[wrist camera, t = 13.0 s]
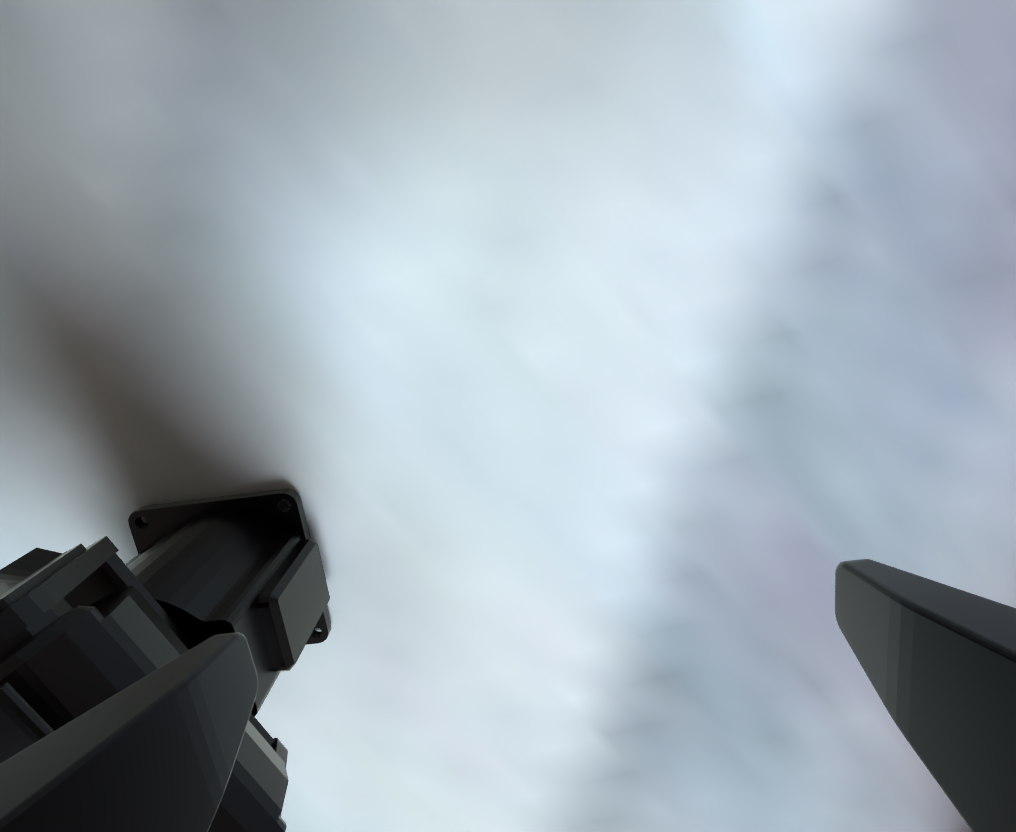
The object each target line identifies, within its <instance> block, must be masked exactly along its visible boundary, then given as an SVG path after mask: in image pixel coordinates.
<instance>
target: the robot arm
mask: <svg viewBox="0 0 1016 832" xmlns="http://www.w3.org/2000/svg"><path fill="white" fill-rule="evenodd" d="M282 499H285V500H287V501H289V502H290V504H291V507H290V508H289V507H285V506H284V505H283V504H282V502H281V500H282ZM141 517H144V518H146V519H147V521H148V524H146V523H144V522H143V521H142V519H141ZM128 521H129V526H130V529H131V532H132V536H133V539H134V542H135V545H136V548H137V551H138V555H137V556H136V557H134V558H133V559H132V560H131V561H129V562H128V563H127V564H126V565H125V564H124V563H123V561H122V560H121V559H120V558H119V557H118V555H117V554H116V552H117V551H118V549H117V548H116V547H115V545H114V544H113V543H112V542H111V541H110V540H109V538H108V537H107V536H105V537H104V538H102V539H100V540H99V541H97V542H95V543H94V544H92V545H90V546H89V547H87V548H85V547H84V546H83V545H82V544H79V545H78V546H76V547H74V548H73V549H71V550H69V551H66V552H65V553H63V554H62V553H58V552H53V551H49V550H44V549H40V548H35V549H34V550H32V551H31V552H29V553H27V554H26V555H24V556H22V557H21V558H19V559H17V560H16V561H14V562H12V563H11V564H9V565H8V566H6V567H4V568H3V569H1V570H0V832H285V830H286V823H285V822H284V820H283V819H282V818H281V811H282V807H283V802H284V798H285V794H286V789H287V785H288V776H287V772H286V763H287V753H288V751H287V749H286V748H285V747H284V745H283V744H282V743H281V742H280V741H279V739H278V738H274V739H273V738H272V737H271V736H270V735H269V734H268V732H267V731H266V730H265V729H264V728H263V726H262V725H261V724H260V723H259V722H258V721H257V719H256V718H255V715H256V714H257V713H258V711H259V709H260V707H261V705H262V704H263V702H264V700H265V698H266V697H267V695H268V693H269V691H270V689H271V688H272V686H273V684H274V682H275V680H276V679H277V677H278V675H279V673H280V671H289V670H290V669H291V668H292V667H293V666H294V664H295V663H296V661H297V660H298V658H299V656H300V654H301V652H302V650H303V648H304V646H305V645H306V644H315V643H321V642H323V641H324V640H326V639H327V637H328V635H329V632H330V630H331V623H330V618H329V614H328V610H327V606H326V605H327V603H328V601H329V599H330V596H329V592H328V588H327V583H326V579H325V575H324V571H323V567H322V562H321V558H320V554H319V550H318V546H317V543H315V542H314V541H313V540H312V539H310V535H309V531H308V527H307V523H306V519H305V515H304V510H303V506H302V502H301V499H300V497H299V495H298V494H297V493H296V492H295V491H293V490H290V489H282V490H274V491H266V492H258V493H249V494H241V495H233V496H225V497H217V498H209V499H200V500H192V501H184V502H176V503H168V504H160V505H151V506H144V507H141V508H139V509H137V510H136V511H134V512H133V513H132V514H131V515H130V516H129V519H128ZM835 615H836V619H837V623H838V625H839V627H840V629H841V631H842V633H843V635H844V636H845V638H846V640H847V642H848V643H849V645H850V647H851V648H852V650H853V652H854V654H855V655H856V657H857V659H858V661H859V662H860V664H861V666H862V667H863V669H864V671H865V673H866V674H867V676H868V678H869V679H870V681H871V683H872V685H873V686H874V688H875V690H876V692H877V693H878V695H879V697H880V698H881V700H882V702H883V704H884V705H885V707H886V709H887V710H888V712H889V714H890V715H891V717H892V718H893V720H894V722H895V723H896V725H897V726H898V728H899V729H900V731H901V732H902V733H903V735H904V736H905V738H906V739H907V741H908V742H909V743H910V745H911V746H912V748H913V749H914V750H915V752H916V753H917V755H918V756H919V757H920V759H921V760H922V762H923V763H924V764H925V766H926V767H927V769H928V770H929V771H930V773H931V774H932V775H933V777H934V778H935V780H936V781H937V782H938V784H939V785H940V787H941V788H942V789H943V791H944V792H945V794H946V795H947V796H948V798H949V799H950V800H951V802H952V803H953V805H954V806H955V807H956V809H957V810H958V812H959V813H960V814H961V816H962V817H963V819H964V820H965V821H966V823H967V824H968V825H969V827H970V828H971V830H972V831H973V832H1016V608H1013V607H1010V606H1007V605H1004V604H1001V603H998V602H995V601H992V600H989V599H986V598H983V597H980V596H977V595H974V594H971V593H968V592H965V591H962V590H959V589H956V588H953V587H950V586H947V585H944V584H941V583H938V582H935V581H933V580H930V579H927V578H924V577H921V576H918V575H915V574H912V573H909V572H906V571H903V570H900V569H897V568H894V567H891V566H888V565H885V564H882V563H879V562H876V561H873V560H869V559H860V560H852V561H844V562H841V563H840V564H839V565H838V566H837V568H836V573H835ZM315 627H318V628H320V629H321V630H322V631H321V632H318V631H316V630H314V628H315Z"/></svg>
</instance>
